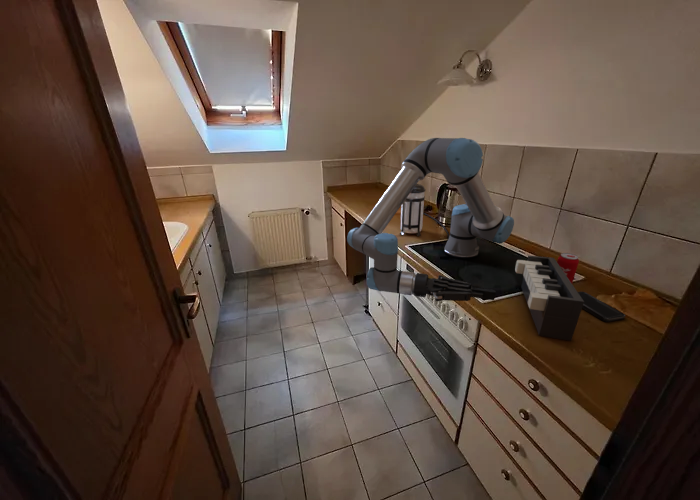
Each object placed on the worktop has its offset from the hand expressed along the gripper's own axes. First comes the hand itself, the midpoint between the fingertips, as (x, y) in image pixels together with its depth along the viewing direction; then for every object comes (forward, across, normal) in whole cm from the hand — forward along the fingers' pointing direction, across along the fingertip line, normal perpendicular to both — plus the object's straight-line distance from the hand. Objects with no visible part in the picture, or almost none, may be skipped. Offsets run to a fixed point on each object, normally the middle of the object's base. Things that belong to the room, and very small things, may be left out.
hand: (494, 295), depth 89 cm
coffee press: (-35, -75, -10) cm, 83 cm away
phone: (+33, -18, -10) cm, 39 cm away
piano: (+17, -12, -10) cm, 23 cm away
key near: (+13, 0, -2) cm, 13 cm away
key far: (+13, -23, -2) cm, 27 cm away
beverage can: (+27, -32, -10) cm, 43 cm away
